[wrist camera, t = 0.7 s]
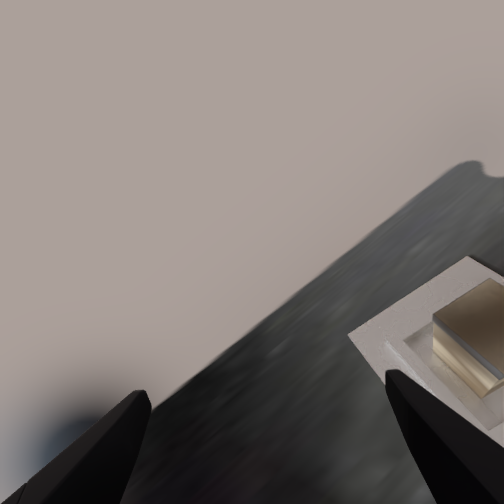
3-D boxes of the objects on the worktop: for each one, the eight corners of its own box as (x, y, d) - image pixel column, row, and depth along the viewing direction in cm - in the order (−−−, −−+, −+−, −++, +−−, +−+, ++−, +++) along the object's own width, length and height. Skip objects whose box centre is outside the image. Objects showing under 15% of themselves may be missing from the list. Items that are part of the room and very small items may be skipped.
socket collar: (715, 408, 13) (748, 402, 12) (492, 526, 15) (498, 534, 13) (466, 259, 24) (468, 247, 23) (348, 336, 25) (343, 329, 24)
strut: (532, 370, 17) (577, 331, 12) (481, 400, 18) (503, 375, 12) (473, 324, 20) (489, 277, 15) (431, 350, 21) (432, 314, 15)
